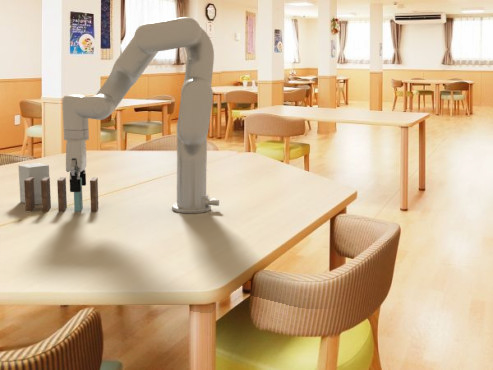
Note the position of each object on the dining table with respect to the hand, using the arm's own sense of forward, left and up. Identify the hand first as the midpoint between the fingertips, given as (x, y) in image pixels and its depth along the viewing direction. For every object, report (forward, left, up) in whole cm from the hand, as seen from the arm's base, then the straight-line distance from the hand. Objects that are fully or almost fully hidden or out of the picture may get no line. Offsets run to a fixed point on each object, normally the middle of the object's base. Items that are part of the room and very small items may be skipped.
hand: (78, 188), depth 191 cm
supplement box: (+18, -6, -7) cm, 20 cm away
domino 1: (+15, +3, -7) cm, 17 cm away
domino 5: (-5, -1, -7) cm, 8 cm away
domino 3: (+5, +1, -7) cm, 9 cm away
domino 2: (+10, +2, -7) cm, 12 cm away
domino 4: (0, 0, -7) cm, 7 cm away
